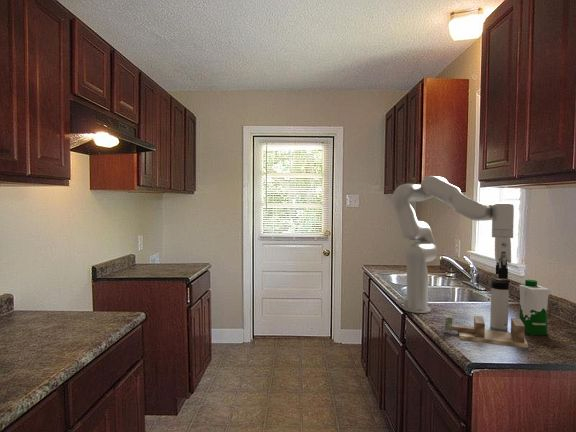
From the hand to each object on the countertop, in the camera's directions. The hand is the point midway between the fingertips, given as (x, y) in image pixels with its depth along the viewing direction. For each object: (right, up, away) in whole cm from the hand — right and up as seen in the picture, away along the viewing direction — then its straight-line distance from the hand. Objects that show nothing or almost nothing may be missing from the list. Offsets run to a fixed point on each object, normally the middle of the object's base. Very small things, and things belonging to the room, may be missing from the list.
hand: (501, 276), depth 157 cm
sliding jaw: (-18, -20, -6) cm, 27 cm away
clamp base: (-9, -22, -10) cm, 25 cm away
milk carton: (+11, -22, -2) cm, 25 cm away
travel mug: (0, -22, +1) cm, 22 cm away
